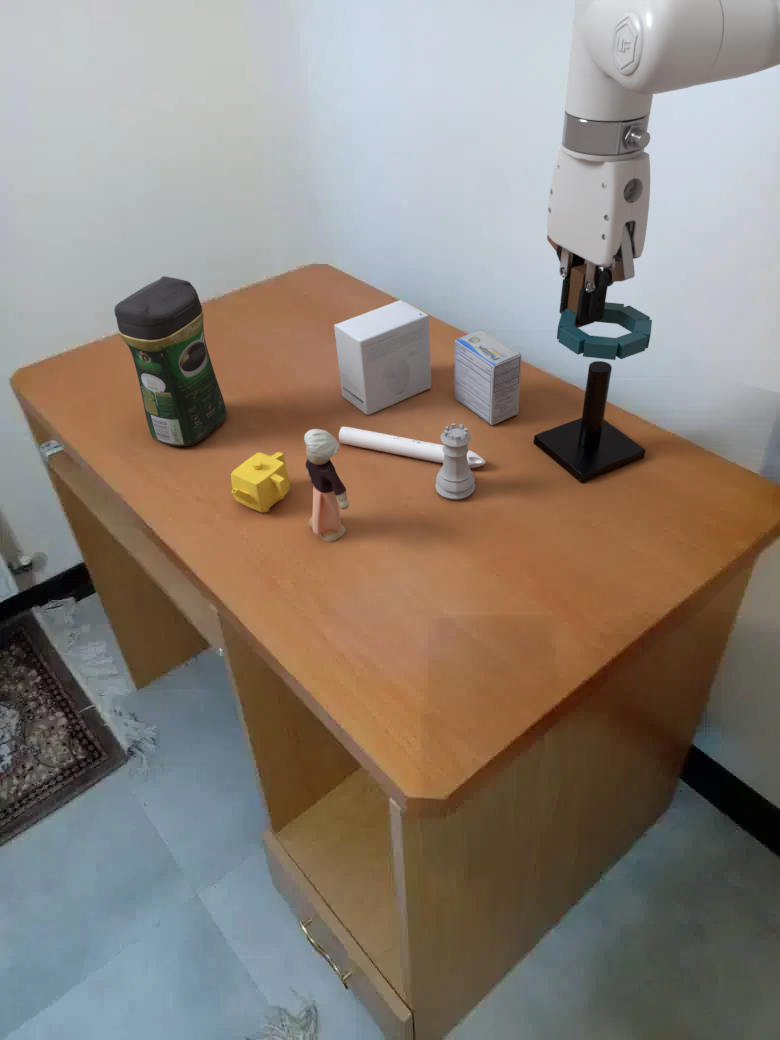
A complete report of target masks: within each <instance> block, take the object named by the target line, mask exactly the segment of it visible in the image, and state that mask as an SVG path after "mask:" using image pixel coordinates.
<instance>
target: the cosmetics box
mask: <svg viewBox="0 0 780 1040" xmlns="http://www.w3.org/2000/svg"><path fill="white" fill-rule="evenodd" d="M333 329H334V336H335V346H336V354H337V362H338V363H337V364H338V372H339V381H340V390H341V396H342V397H343V398H344V399H345V400H346V401H348V402H350V403H351V404H352V405H353V406H355V407H356V408H357V409H359V411H361V412H362V413H363V414H365V415H367V416H370V415H372V414H374V413H377V412H379V411H382V410H383V409H386V408H388V407H389V406H390V407H391V406H393V405H395V404H397V403H399V402H402V401H405V400H406V399H409V398H411V397H413V396H415V395H417V394H419V393H423V392H425V391H427V390H429V389H431V388H432V374H431V373H432V372H431V348H430V347H431V345H430V314H428V313H426V312H424V311H423V310H421V309H419V308H417V307H416V306H413V305H412V304H410V303H408V302H406V301H404V300H402V299H399V300H396V301H394V302H391V303H389V304H386V305H384V306H380V307H378V308H376V309H372V310H370V311H367V312H365V313H362V314H360V315H357V316H353V317H351V318H349V319H346V320H343V321H340V322H338V323H335V324H333Z"/></svg>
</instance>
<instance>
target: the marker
mask: <svg viewBox="0 0 780 1040" xmlns="http://www.w3.org/2000/svg"><path fill="white" fill-rule="evenodd" d="M338 443H340V444H343V445H348V446H352V447H358V448H364V449H368V450H373V451H379V452H383V453H388V454H393V455H397V456H404V457H409V458H414V459H419V460H423V461H429V462H434V463H438V464H443V462H444V452H443V450H442V449H443V446H444V445H445V444H439V443H435V442H429V441H424V440H420V439H412V438H407V437H402V436H399V435H398V436H397V435H392V434H387V433H381V432H377V431H372V430H367V429H361V428H357V427H356V428H355V427H351V426H344V425H343V426H341V427H340V429H339V432H338ZM467 461H468V467H469V468H470V469H473V468H478V467H481V466H483V465H485V464H486V463H487V462H486V461H485V459H484V458H483V457H481V456H480V455H479V454H477V453H476V452H475V451H473V450H470V449H469V451H468V453H467Z"/></svg>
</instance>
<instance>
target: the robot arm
mask: <svg viewBox="0 0 780 1040" xmlns="http://www.w3.org/2000/svg"><path fill="white" fill-rule="evenodd" d="M574 2H575V3H574V11H573V22H572V31H571V43H570V52H569V53H570V54H569V63H568V72H567V73H568V74H567V83H566V84H567V85H566V94H565V104H564V105H565V106H564V115H563V126H562V135H561V136H562V137H561V141H560V144H559V147H558V150H557V154H556V159H555V163H554V167H553V172H552V176H551V177H552V178H551V183H550V189H549V197H548V206H547V212H546V213H547V215H546V231H547V232H546V233H547V235H546V238H547V241H548V243H549V245H551V247H552V248H553V249H554V251H555V252H556V256H557V258H558V260H559V275H560V277H561V278H562V284H561V295H560V302H559V314H560V315H561V314H562V311H564V312H565V309H567V303H568V295H569V286H570V277H571V268H573V267H577V266H580V265H583V264H587V269H586V277H585V288H583V289H580V292H579V299H578V308H577V317H576V324H578V325H579V326H582V327H584V326H583V325H585V326H587V325H586V324H588V325H590V324H589V323H591V324H593V323H592V322H594V323H596V322H595V321H599V320H601V319H602V318H603V314H604V307H605V302H606V301H607V300H606V299H607V294H608V293H607V292H608V288H609V287H611V286H613V284H614V283H615V282H625V281H627V280H631V279H633V278H635V274H636V273H635V264H634V259H639V258H640V257H642V254H643V252H644V247H645V242H646V236H647V230H648V229H647V228H648V219H649V210H650V200H651V199H650V196H651V160H650V154H649V153H648V152H646V151H645V148H646V147H648V145H649V143H650V142H651V134H650V133H649V132H648V129H649V122H650V116H651V110H652V106H653V105H652V103H653V98H654V95H658V94H664V93H668V92H673V91H678V90H683V89H688V88H692V87H695V86H700V85H705V84H710V83H715V82H721V81H727V80H732V79H733V80H734V79H738V78H742V77H747V76H749V75H752V74H756V73H759V72H762V71H765V70H768V69H771V68H773V67H777V66H778V65H779V66H780V0H575V1H574ZM599 268H600V269H601V268H602V271H601V272H600V273H599V274H598V270H599Z"/></svg>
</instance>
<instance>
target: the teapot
mask: <svg viewBox="0 0 780 1040" xmlns="http://www.w3.org/2000/svg"><path fill="white" fill-rule="evenodd" d="M285 459H286V458H285V454H284V453H283V452H280V451H277V452H274V454H272V455H268V454H265V453H262V452H259V451H258V452H256V453H255V454H253V455H252V456H250V457H248V458H247V459H246V460H245V461H243V462H242V463H241V464H240V465H238V466H237V467H236V468H235V469H234V470H233V471H232V472H231V473H230V479H231V488H232V490H231V491H230V493H231V494H232V495H233V497H234V500H235V501H236V502H237V503H239V504H242V505H243V506H245V507H248V508H249V509H252V510H255V511H257V512H259V513H268V512H269V511H270V508H271V507H273V505H275V504H276V503H278V502H279V501H281V500H283V499H285V496H286V495H287V494H288V493H289V491H290V490H291V481H290V477H289V473H288V469H287V463H286V460H285Z"/></svg>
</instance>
